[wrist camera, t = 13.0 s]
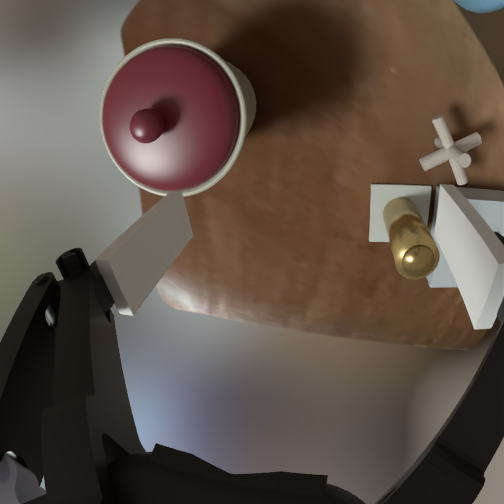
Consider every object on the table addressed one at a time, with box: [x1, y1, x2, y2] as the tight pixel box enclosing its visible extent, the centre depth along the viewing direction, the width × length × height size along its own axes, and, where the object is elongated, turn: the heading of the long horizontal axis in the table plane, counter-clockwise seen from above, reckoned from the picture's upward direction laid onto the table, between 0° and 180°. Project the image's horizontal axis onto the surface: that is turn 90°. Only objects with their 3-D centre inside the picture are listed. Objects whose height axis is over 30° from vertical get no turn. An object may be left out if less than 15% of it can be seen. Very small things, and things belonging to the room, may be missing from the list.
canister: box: [100, 38, 257, 197], centre depth 34 cm, size 18×18×21 cm
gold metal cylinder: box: [383, 197, 440, 279], centre depth 39 cm, size 6×6×14 cm
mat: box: [369, 184, 431, 242], centre depth 44 cm, size 10×10×1 cm
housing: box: [426, 186, 504, 287], centre depth 40 cm, size 16×14×5 cm
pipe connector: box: [419, 115, 482, 185], centre depth 33 cm, size 10×10×10 cm
